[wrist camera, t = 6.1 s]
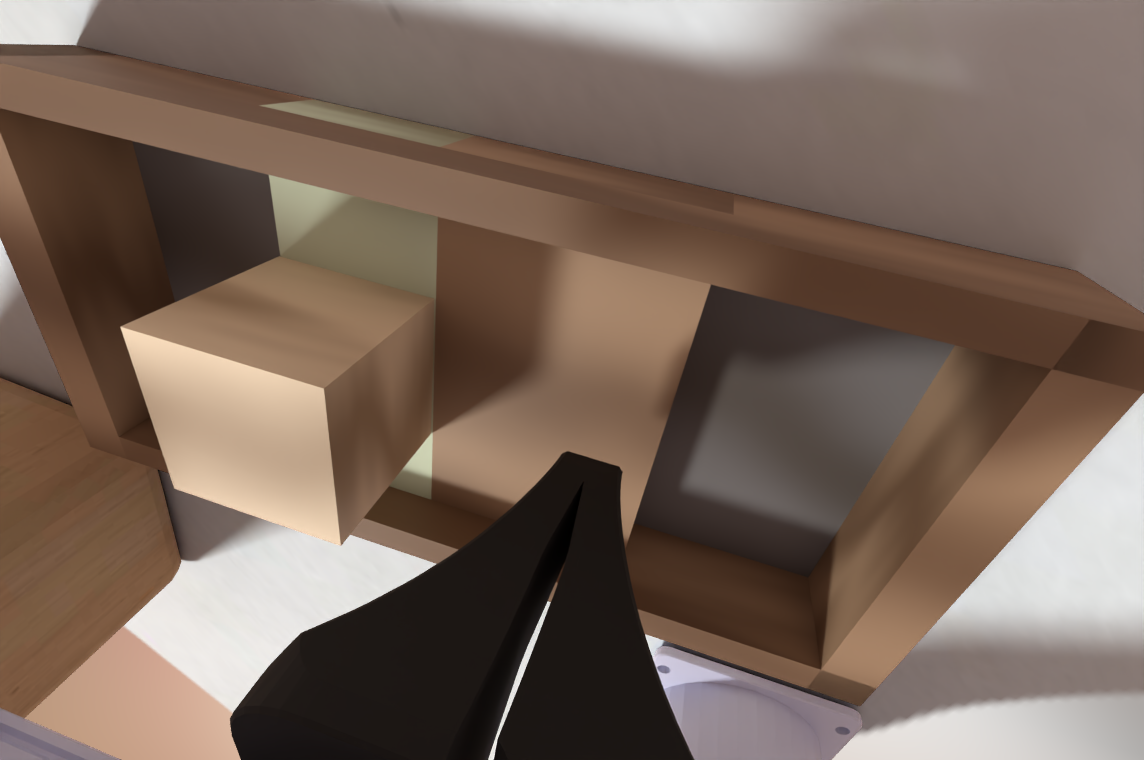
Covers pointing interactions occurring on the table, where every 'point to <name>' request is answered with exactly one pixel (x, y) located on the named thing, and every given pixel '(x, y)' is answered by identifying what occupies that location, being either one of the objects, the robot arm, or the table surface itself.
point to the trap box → (593, 346)
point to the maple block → (289, 392)
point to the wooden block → (69, 545)
